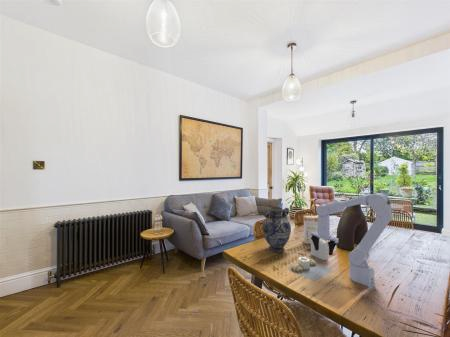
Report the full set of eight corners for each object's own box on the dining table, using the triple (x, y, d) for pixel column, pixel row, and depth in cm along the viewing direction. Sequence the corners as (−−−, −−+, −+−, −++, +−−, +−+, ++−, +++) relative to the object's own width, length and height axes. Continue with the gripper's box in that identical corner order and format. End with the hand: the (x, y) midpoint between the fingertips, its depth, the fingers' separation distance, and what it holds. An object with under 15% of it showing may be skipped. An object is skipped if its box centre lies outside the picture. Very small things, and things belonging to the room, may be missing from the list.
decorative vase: (272, 257, 125) (271, 211, 126) (255, 247, 142) (255, 206, 143) (298, 251, 134) (298, 208, 135) (280, 242, 151) (280, 204, 152)
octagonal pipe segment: (311, 267, 110) (311, 259, 110) (305, 269, 106) (305, 262, 107) (302, 263, 114) (302, 256, 114) (296, 265, 111) (296, 258, 111)
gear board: (334, 273, 106) (334, 261, 106) (314, 284, 96) (314, 271, 96) (306, 262, 119) (306, 251, 119) (286, 270, 109) (286, 259, 109)
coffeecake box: (324, 241, 153) (324, 215, 153) (327, 245, 146) (327, 217, 146) (303, 240, 156) (303, 214, 156) (305, 243, 149) (305, 216, 149)
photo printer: (329, 261, 119) (329, 240, 120) (323, 263, 118) (323, 241, 118) (314, 255, 129) (314, 235, 129) (309, 256, 127) (309, 236, 127)
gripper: (307, 225, 113) (307, 249, 113) (333, 231, 101) (333, 259, 101) (314, 223, 117) (314, 247, 117) (340, 229, 106) (340, 255, 105)
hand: (323, 252), depth 110 cm, fingers open, 7 cm apart
